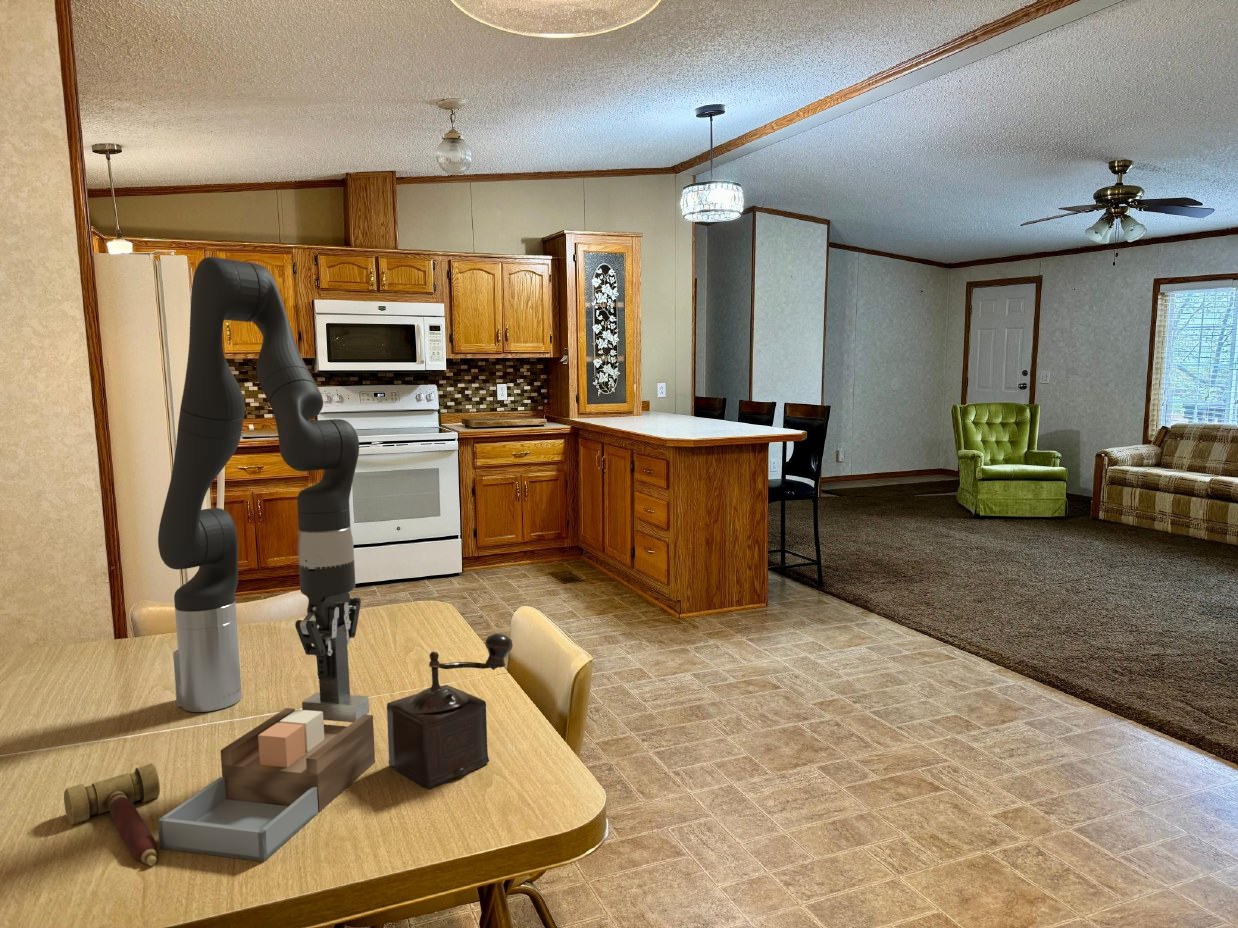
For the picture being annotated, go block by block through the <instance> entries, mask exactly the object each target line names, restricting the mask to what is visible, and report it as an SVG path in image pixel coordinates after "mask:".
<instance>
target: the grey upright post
mask: <svg viewBox="0 0 1238 928" xmlns="http://www.w3.org/2000/svg"><path fill="white" fill-rule="evenodd" d="M319 632H320V633H328V632H329V631H320V630H319ZM322 641H323V644H324V647H325V644H326V641H325V639H322ZM332 655H333V662H334V679H332V680H331V681H323V680H319V679H318V684H319V686H318V687H319V692H315V693H313V694H312V695H309V696H308V697H307V698H305V699H304V700H302V701H301V707H302V708H301V710H309V711H321V712H323V721H332V722H341V723H342V722H343V723H345V722H346V723H353V722H354V721H356V720H357V719H358V718H359V717H361V716H362V715H363V714H364V715H369V714H370V703H369V702H370V701H369V696H367V695H355V694H351V687H350V671H349V657H348V655H349V653H348V646H347V632H346V630H345V624H340V625H338V626H337V636H336V638H334V639H333V653H332Z"/></svg>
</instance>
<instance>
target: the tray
mask: <svg viewBox="0 0 1238 928" xmlns="http://www.w3.org/2000/svg"><path fill="white" fill-rule="evenodd" d="M318 814H319V812H318V800H317V787H311V788H310V789H309V790H308V791H307V792H305V793H304V794H303V795H302V796H301V797H299V798H298V799H297V800H296V801H295V802H293V803H292V804H291V805H290V806H282V805H273V804H264V803H255V802H246V801H237V800H228V799H226V790H225V777H222V776H219V777H218V778H217V779H215V780H214V781H212V782H211V783H210V784H208V785H207V786H205V787H203V788H202V789H201V790H200V791H198V792H196V793H195V794H193V795H192V796H191V797H189V798H188V799H186V800H185V801H184V802H182V803H180V804H179V805H178V806H176V807H175V808H173V809H172V810H170V811H169V812H167V813H166V814H165V815H163V816H162V817H160V818H159V819H157V828H158V842H159V849H162V850H173V851H178V852H186V853H193V854H201V855H210V856H217V857H225V858H232V859H240V860H248V861H254V862H260V863H261V862H263V863H265V862H266V861H267V860H268V859H269V858H271V857H272V856H273V855H274V854H275V853H276V852H277V851H278V850H279V849H280V848H282V847H283V846H284V845H285V844H286V843H287V842H288V841H290V839H292V838H293V837H294V836H295V835H296V834H297V833H298V832H299V831H300V830H302V829H303V828H304V827H305V826H306V825H307V824H308V823H310V821H311V820H312V819H314V818H315V817H316V816H317V815H318Z"/></svg>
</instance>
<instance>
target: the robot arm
mask: <svg viewBox="0 0 1238 928" xmlns="http://www.w3.org/2000/svg"><path fill="white" fill-rule="evenodd" d="M191 283H192V284H191V292H190V293H191V295H190V311H189V312H190V314H189V315H190V316H189V340H188V353H187V362H186V363H187V364H186V370H185V379H184V385H183V390H182V391H183V392H182V396H181V403H180V409H179V415H178V416H179V417H178V423H177V424H178V425H177V435H176V445H175V452H174V458H173V465H172V470H171V476H170V482H169V486H168V491H167V494H166V497H165V500H164V506H163V509H162V513H161V516H160V517H161V518H160V521H159V525H158V527H159V528H158V534H157V545H158V552H159V556H160V558H161V560H162V562H163V563H164V564H165V566H166V567H168V568H170V569H172V570H186V569H192V568H197V567H198V569H197V571H196V573H195V575H193V576H192V577H191V579H189V580H188V581H187V582H186V583H184V584H182V585H181V586H180V587H179V588H177V589H176V590H175V593H174V596H173V598H174V599H173V600H174V601H173V602H174V603H173V604H174V613H175V626H176V628H175V629H176V637H177V638H176V639H177V640H176V641H177V650H175V651H173V653H172V657H173V670H174V673H173V674H174V686H175V697H176V698H175V699H176V707H181V708H182V709H183V710H184V711H186V712H193V713H204V712H205V713H206V712H214V711H218V710H222V709H225V708H228V707H231V706H233V705H235V704H237V703H239V701H241V700H242V698H243V695H242V680H241V665H240V664H241V663H240V662H241V661H240V650H239V649H240V647H239V646H240V645H239V634H238V632H239V631H238V618H237V617H238V616H237V605H236V591H237V587H238V584H239V542H238V539H239V538H238V532H237V527H236V524H235V521H234V519H233V517H232V516H231V514H230V513H229V512H228V511H227V510H225V509H223V508H221V507H212V508H211V507H210V508H203V503H204V501H205V497H206V495H207V492H208V491H209V488H210V487H211V486H212V484H213V482H214V481H215V480H216V478H217V477H218V476H219V474H220V473H221V471H222V470H223V469H224V468H225V466H226V465H228V463H229V461H230V460H231V458H232V456H234V454H235V453H236V450H237V448H238V446H239V444H240V442H241V437H242V432H243V426H244V425H243V424H244V420H245V419H244V418H245V413H246V412H245V411H246V402H245V397H244V394H243V393H242V390H241V387H240V385H239V383H238V381H237V379H236V378H235V376H234V374H233V372H232V371H231V370H232V369H231V368H230V366H229V364H228V361H227V360H226V356H225V352H224V349H223V346H224V345H223V330H224V329H223V328H224V321H232V322H241V323H242V322H244V323H253V324H254V325H255V326H256V328H257V329H258V330H259V332H260V333H261V335H262V344H261V347H260V351H259V353H258V355H257V356H258V357H257V360H256V375H257V380H258V383H259V386H260V388H261V390H262V392H263V394H264V396H265V398H266V400H267V402H268V403H269V405H270V407H271V409H272V411H273V416H274V419H275V424H276V429H277V439H278V447H279V452H280V455H281V458H282V460H283V461H284V463H286V465H287V466H289V467H290V468H291V469H292V470H295V471H296V472H313V471H321V470H324V472H323V475H322V477H321V480H319V482H318V483H315V484H313V485H311V486H309V487H306V488H304V489H302V490H300V492H299V493H298V494H297V497H296V498H297V499H296V503H297V504H296V505H297V507H296V508H297V520H298V521H297V522H298V523H297V525H298V539H297V556H298V571H299V572H298V573H299V585H300V586H299V587H300V593H301V594H302V595H304V596H306V598H307V599H308V603H307V604H308V605H307V608H306V613H307V614H306V615H305V618H303V619H297V620H296V621H295V625H294V626H295V629H296V631H297V635H298V638H299V639H300V643H301V645H302V647H303V650H304V653H305V654H306V656H315V657H316V667H317V669H316V670H317V672H316V673H317V678H318V681H319V680H323V681H331V680H332V679H334V662H333V655H332V653H333V639H334V638H336V636H337V626H338V625H340V624H345V630H346V632H347V647H348V646H349V644H350V639H353V638H355V636H356V634H357V628H358V621H359V616H360V609H361V603H362V600H361V597H351V595H350V592H352V591H354V589H355V588H356V572H355V571H356V570H355V568H356V567H355V553H354V552H355V548H354V538H353V535H352V527H351V512H350V511H351V510H350V509H351V508H350V506H351V505H350V497H351V491H352V487H353V481H354V476H355V473H356V468H357V464H358V458H359V454H360V440H359V436H358V433H357V431H356V429H355V428H354V426H353V425H352V424H351V423H350V422H349V421H347V420H345V419H341V418H336V419H335V418H333V419H331V418H330V419H318V420H315V419H314V418H315V417H317V416H318V415H319V414H320V413H321V411H322V410H323V407H324V399H323V395H322V393H321V391H320V389H319V387H318V385H317V384H316V382H315V380H314V378H313V377H312V374H311V372H310V371H309V369H308V367H307V365H306V363H305V361H304V360H303V357H302V355H301V353H300V351H299V349H298V348H299V347H298V345H297V342H296V339H295V336H294V333H293V331H292V325H291V324H290V320H289V317H288V314H287V311H286V309H285V305H284V301H283V298H282V296H281V293H280V289H279V287H278V284H277V282H276V280H275V278H274V276H273V274H272V273H271V271H270V270H269V269H267V268H266V267H265V266H263V265H261V264H260V263H259V264H258V263H254V262H248V261H242V260H235V259H229V258H222V257H216V256H215V257H214V256H206V257H204V258H203V259H202V260H200V262H199V263H198V264H197V265H196V269H195V271H194V273H193V277H192V282H191ZM312 419H313V420H312ZM319 630H320V631H329V632H328V633H320V632H319ZM322 639H325V641H326V644H325V647H324V644H323V641H322Z"/></svg>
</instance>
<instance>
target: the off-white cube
mask: <svg viewBox="0 0 1238 928" xmlns="http://www.w3.org/2000/svg"><path fill="white" fill-rule="evenodd" d="M280 723H287V724H298V725H304V737H305V752H308V751H310V750H311V749H312V748H314V747H315V746H316V745H318V744H319V743H320V742H322V741H323V740H324V724H325V723H324V720H323V712H321V711H309V710H302V709H295V711H294V712H293V713H291V714H290V715H288V716H287V717H285V718H284V719H282V720H281V721H280Z"/></svg>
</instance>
